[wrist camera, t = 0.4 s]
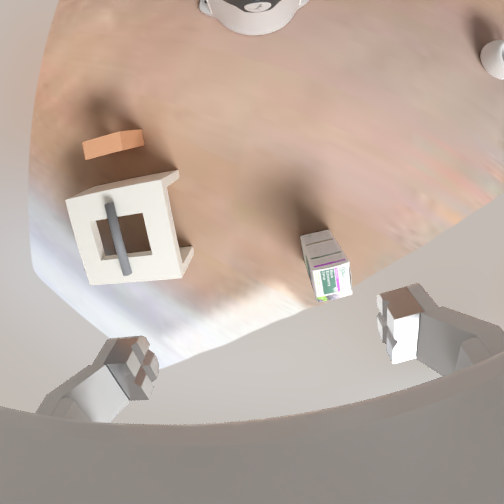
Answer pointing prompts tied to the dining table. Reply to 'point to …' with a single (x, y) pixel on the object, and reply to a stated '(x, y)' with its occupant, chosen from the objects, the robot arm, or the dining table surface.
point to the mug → (493, 58)
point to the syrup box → (326, 266)
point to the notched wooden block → (112, 143)
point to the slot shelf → (128, 205)
